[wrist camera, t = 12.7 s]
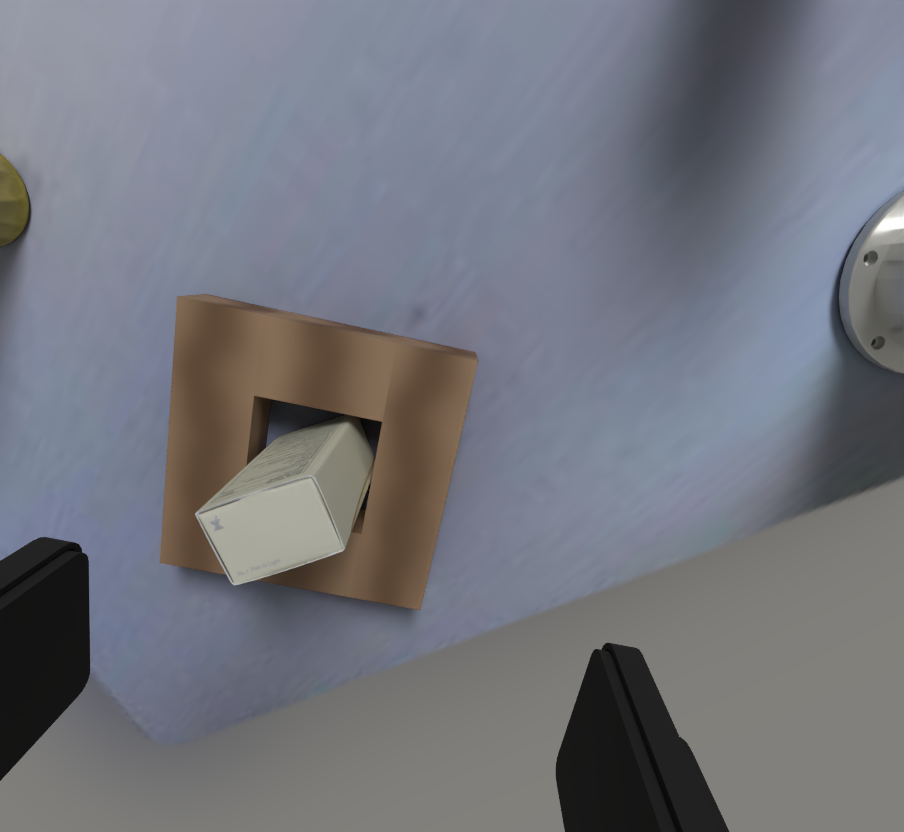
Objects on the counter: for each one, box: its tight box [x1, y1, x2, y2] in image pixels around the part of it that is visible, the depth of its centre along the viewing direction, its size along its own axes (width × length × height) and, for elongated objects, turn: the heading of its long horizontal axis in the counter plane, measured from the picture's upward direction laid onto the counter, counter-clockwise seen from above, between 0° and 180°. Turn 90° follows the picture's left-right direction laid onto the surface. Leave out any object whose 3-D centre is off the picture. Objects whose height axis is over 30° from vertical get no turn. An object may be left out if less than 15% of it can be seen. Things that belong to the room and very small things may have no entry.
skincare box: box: [195, 414, 375, 585], centre depth 30 cm, size 6×4×12 cm
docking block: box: [160, 294, 478, 610], centre depth 34 cm, size 18×18×4 cm
